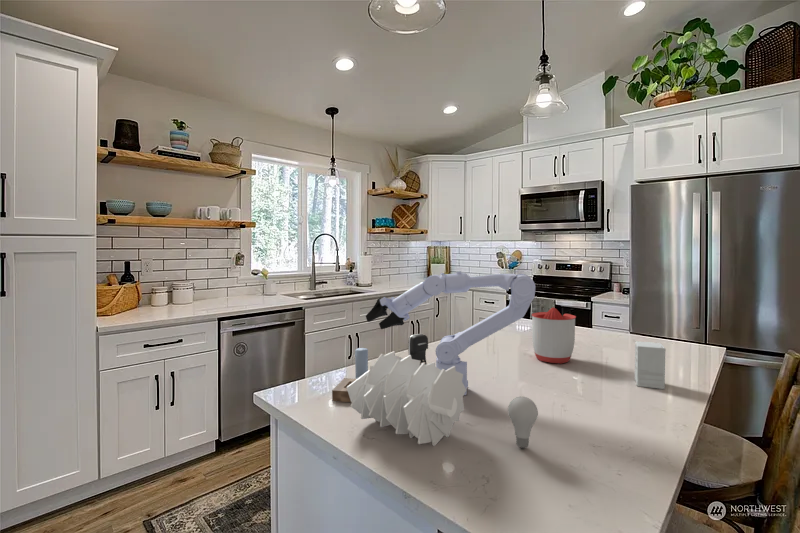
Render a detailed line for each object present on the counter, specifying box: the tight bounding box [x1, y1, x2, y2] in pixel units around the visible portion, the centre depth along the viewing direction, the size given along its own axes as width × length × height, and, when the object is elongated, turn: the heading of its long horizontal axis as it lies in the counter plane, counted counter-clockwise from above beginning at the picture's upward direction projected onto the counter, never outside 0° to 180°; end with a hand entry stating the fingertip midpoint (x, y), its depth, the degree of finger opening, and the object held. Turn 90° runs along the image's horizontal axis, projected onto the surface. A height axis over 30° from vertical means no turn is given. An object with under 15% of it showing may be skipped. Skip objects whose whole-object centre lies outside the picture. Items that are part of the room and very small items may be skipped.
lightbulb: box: [507, 395, 539, 449], centre depth 86 cm, size 6×6×11 cm
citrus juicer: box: [531, 306, 577, 365], centre depth 153 cm, size 16×17×20 cm
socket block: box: [331, 377, 356, 403], centre depth 117 cm, size 11×11×3 cm
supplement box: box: [634, 340, 667, 390], centre depth 125 cm, size 7×7×13 cm
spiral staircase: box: [347, 351, 466, 447], centre depth 94 cm, size 18×18×25 cm
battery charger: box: [407, 333, 429, 365], centre depth 145 cm, size 7×4×11 cm, turn 125°
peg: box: [354, 347, 369, 379], centre depth 130 cm, size 4×4×10 cm
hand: (373, 322), depth 126 cm, fingers open, 7 cm apart
